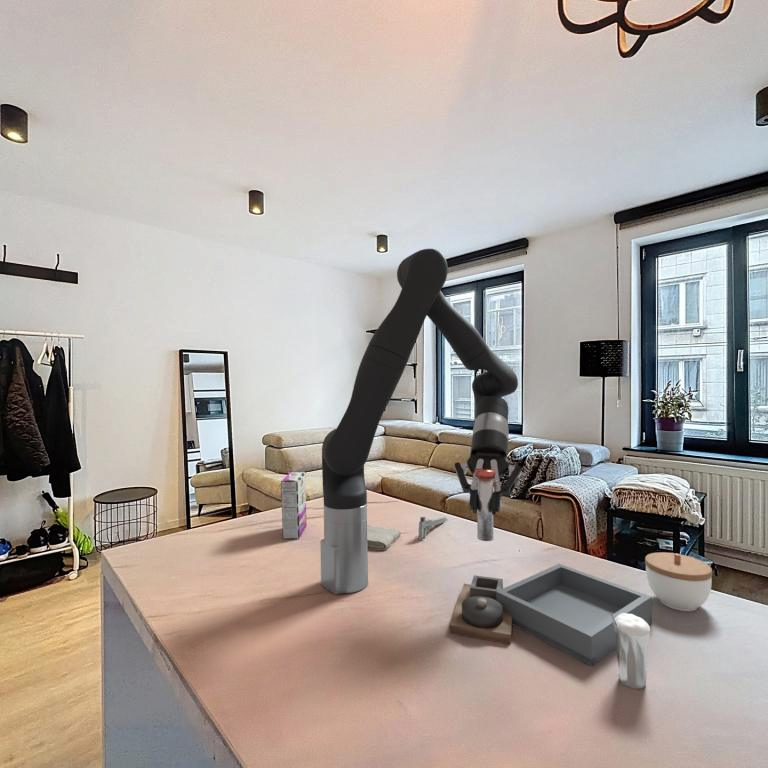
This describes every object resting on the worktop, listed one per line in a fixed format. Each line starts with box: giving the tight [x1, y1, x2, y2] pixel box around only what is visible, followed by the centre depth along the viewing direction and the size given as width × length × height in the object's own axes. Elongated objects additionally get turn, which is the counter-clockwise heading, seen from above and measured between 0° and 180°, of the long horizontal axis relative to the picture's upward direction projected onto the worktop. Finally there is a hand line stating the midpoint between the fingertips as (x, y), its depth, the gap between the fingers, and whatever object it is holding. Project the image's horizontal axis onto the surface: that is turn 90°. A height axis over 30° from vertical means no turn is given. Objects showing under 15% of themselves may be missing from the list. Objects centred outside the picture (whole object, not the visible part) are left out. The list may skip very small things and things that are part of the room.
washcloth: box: [367, 524, 402, 551], centre depth 122 cm, size 12×18×3 cm, turn 68°
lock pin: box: [475, 468, 495, 542], centre depth 85 cm, size 4×4×13 cm
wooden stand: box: [449, 574, 513, 644], centre depth 82 cm, size 16×10×4 cm, turn 161°
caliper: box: [418, 516, 448, 541], centre depth 129 cm, size 20×1×6 cm, turn 152°
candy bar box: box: [280, 471, 307, 540], centre depth 128 cm, size 11×5×16 cm, turn 179°
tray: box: [496, 563, 653, 667], centre depth 80 cm, size 20×18×4 cm
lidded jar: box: [644, 551, 713, 612], centre depth 85 cm, size 11×11×9 cm
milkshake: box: [610, 612, 651, 690], centre depth 63 cm, size 5×5×10 cm
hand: (484, 511), depth 83 cm, fingers closed on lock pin, 3 cm apart
